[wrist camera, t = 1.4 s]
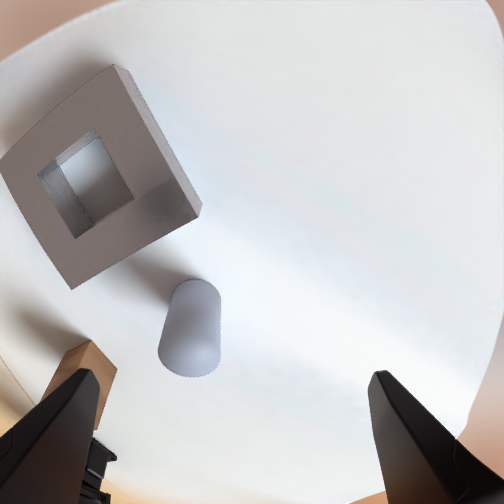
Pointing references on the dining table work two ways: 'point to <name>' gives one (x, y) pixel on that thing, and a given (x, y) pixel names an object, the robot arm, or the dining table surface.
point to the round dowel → (192, 330)
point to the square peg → (86, 358)
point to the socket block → (126, 161)
